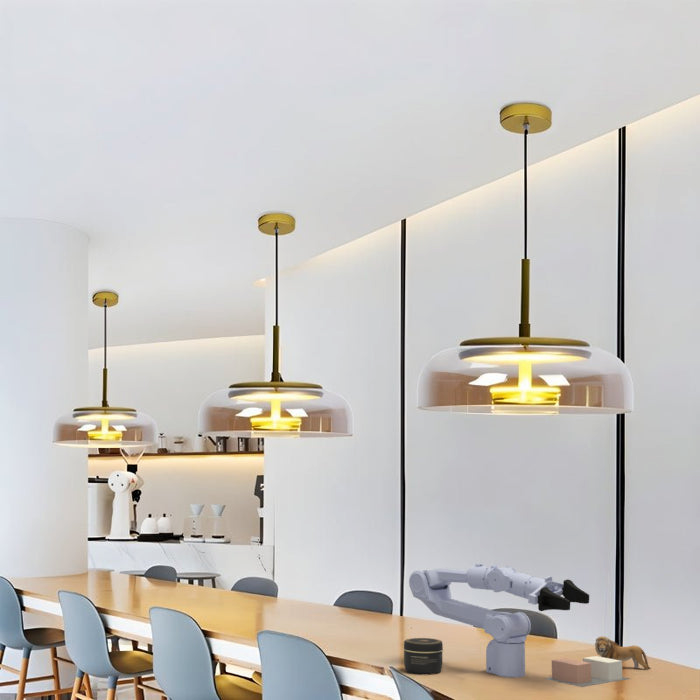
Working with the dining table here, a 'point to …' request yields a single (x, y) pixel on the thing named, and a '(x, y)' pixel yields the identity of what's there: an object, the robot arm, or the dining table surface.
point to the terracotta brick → (571, 670)
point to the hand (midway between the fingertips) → (579, 602)
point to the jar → (423, 655)
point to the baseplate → (593, 682)
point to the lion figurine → (620, 652)
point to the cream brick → (605, 668)
